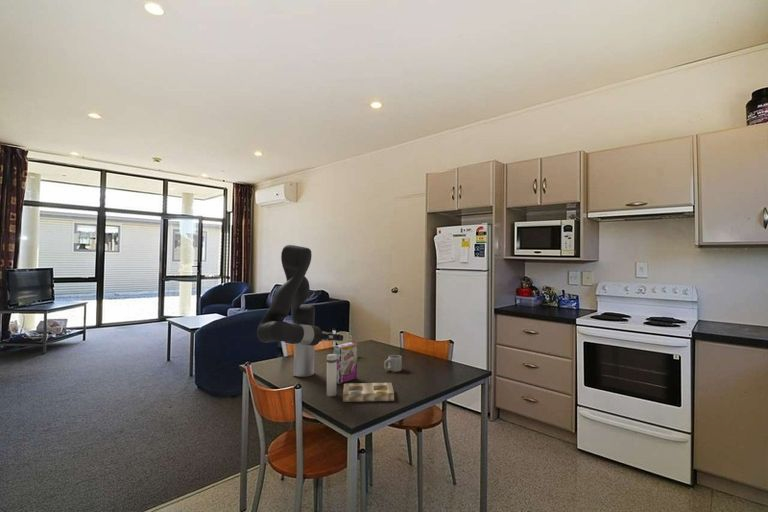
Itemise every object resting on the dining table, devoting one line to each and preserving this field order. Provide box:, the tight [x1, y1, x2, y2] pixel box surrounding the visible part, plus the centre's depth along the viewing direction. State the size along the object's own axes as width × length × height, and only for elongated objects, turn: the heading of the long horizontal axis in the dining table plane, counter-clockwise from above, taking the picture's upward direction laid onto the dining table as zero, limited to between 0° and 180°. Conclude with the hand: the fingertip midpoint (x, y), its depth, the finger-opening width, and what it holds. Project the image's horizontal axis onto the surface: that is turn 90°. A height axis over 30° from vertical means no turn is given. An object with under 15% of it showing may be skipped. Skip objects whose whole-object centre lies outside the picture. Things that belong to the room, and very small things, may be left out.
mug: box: [383, 354, 403, 373], centre depth 182 cm, size 10×7×7 cm
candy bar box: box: [332, 341, 358, 385], centre depth 167 cm, size 11×5×16 cm, turn 141°
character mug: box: [332, 331, 353, 345], centre depth 209 cm, size 11×7×13 cm, turn 110°
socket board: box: [342, 382, 395, 403], centre depth 148 cm, size 20×12×3 cm, turn 94°
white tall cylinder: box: [326, 353, 337, 397], centre depth 149 cm, size 4×4×16 cm
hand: (334, 337), depth 152 cm, fingers open, 8 cm apart
